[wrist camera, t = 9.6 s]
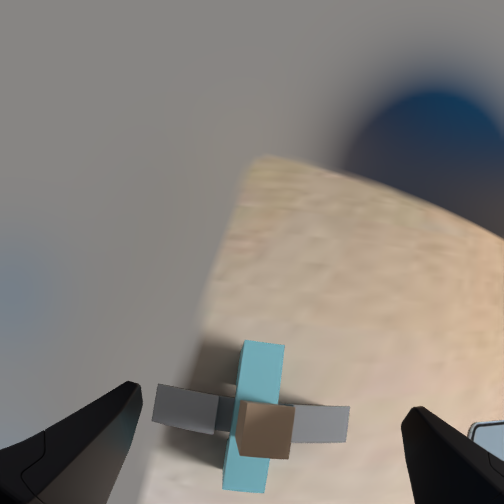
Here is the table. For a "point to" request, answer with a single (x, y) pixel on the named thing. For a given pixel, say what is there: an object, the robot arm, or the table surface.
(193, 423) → the slotted bar
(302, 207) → the table surface
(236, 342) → the table surface
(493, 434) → the smartphone
